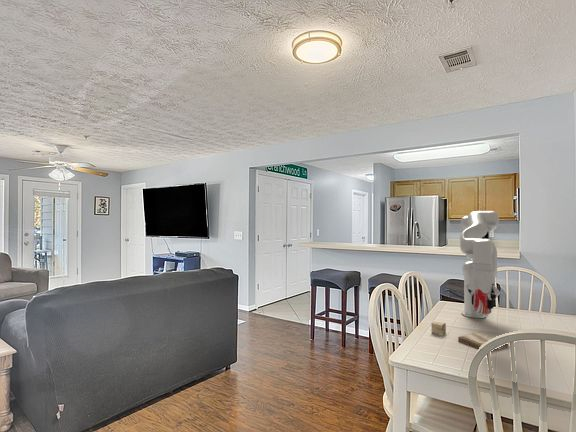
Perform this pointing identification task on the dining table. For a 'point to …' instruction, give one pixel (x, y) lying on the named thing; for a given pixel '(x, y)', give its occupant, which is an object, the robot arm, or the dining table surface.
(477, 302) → the soda can
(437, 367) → the dining table surface
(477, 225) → the robot arm
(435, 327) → the oak block
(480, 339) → the walnut tray
